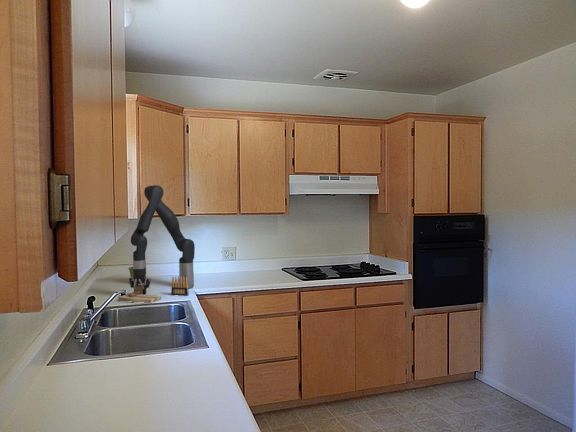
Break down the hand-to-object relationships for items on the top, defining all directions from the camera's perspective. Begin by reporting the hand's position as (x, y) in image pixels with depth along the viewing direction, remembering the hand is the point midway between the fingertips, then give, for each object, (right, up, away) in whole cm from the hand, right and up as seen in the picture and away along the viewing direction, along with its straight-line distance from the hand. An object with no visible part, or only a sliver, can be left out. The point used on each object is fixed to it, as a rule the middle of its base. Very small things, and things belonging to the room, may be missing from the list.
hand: (140, 294), depth 243 cm
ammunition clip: (+23, -1, +5) cm, 24 cm away
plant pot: (-17, 0, +40) cm, 43 cm away
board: (+3, -2, -8) cm, 9 cm away
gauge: (-1, -2, -4) cm, 4 cm away
